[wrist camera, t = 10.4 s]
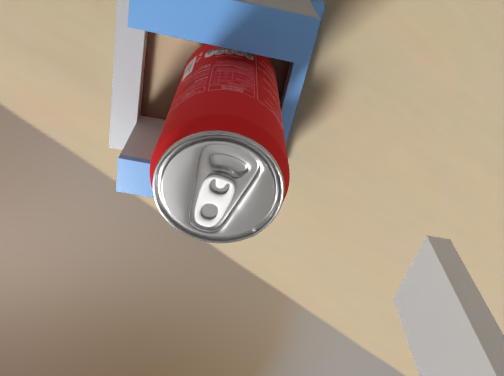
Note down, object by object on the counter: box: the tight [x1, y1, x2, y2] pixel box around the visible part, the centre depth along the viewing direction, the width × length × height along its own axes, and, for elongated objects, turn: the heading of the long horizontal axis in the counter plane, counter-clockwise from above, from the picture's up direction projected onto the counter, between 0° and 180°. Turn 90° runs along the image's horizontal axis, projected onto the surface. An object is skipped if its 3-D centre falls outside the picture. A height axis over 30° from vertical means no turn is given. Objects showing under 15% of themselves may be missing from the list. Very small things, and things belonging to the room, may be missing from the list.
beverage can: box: [150, 44, 290, 243], centre depth 22 cm, size 5×5×12 cm
